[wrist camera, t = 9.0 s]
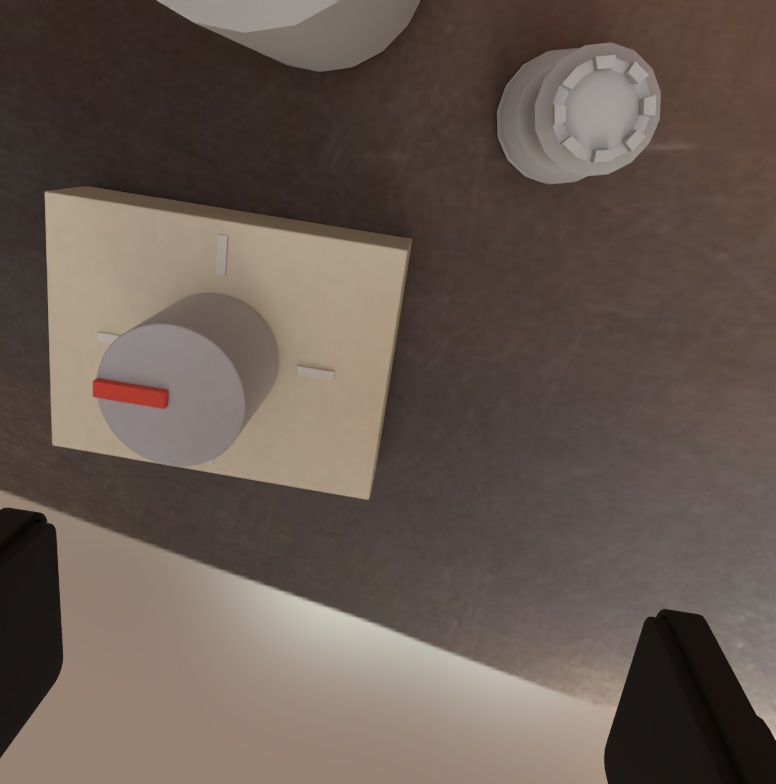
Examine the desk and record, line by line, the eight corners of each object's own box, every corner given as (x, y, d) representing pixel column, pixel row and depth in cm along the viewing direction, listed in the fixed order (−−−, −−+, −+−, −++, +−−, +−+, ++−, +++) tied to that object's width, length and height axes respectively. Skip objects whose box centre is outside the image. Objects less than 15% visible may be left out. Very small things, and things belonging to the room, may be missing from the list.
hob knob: (284, 303, 25) (248, 340, 20) (273, 424, 26) (237, 482, 22) (154, 282, 25) (89, 314, 20) (151, 404, 27) (91, 458, 22)
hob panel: (376, 466, 30) (368, 502, 27) (88, 417, 30) (49, 447, 28) (412, 238, 27) (408, 250, 24) (85, 185, 27) (40, 191, 24)
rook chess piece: (576, 21, 24) (634, -35, 16) (646, 129, 25) (731, 125, 17) (470, 108, 25) (479, 95, 17) (541, 209, 26) (578, 236, 18)
